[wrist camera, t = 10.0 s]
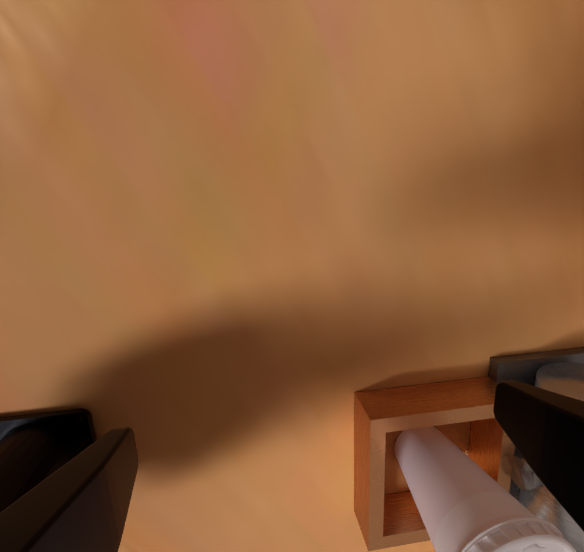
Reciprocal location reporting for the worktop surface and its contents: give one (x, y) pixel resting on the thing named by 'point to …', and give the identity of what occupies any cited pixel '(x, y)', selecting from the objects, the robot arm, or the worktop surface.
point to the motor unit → (482, 447)
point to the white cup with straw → (467, 501)
